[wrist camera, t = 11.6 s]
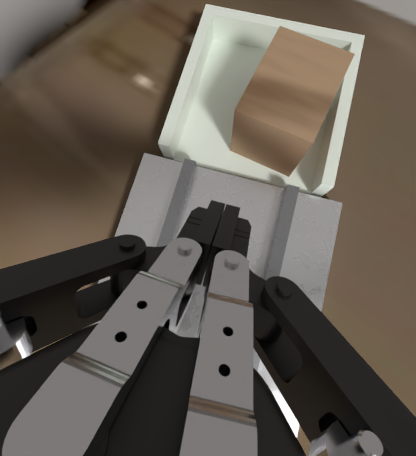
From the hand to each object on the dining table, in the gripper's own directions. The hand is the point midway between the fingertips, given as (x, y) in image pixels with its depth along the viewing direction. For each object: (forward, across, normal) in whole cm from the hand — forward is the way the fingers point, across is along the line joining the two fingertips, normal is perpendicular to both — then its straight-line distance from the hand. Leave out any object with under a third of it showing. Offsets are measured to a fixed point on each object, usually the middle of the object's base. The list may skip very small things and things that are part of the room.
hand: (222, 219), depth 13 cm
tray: (+17, 0, +3) cm, 17 cm away
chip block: (+11, +2, +1) cm, 11 cm away
